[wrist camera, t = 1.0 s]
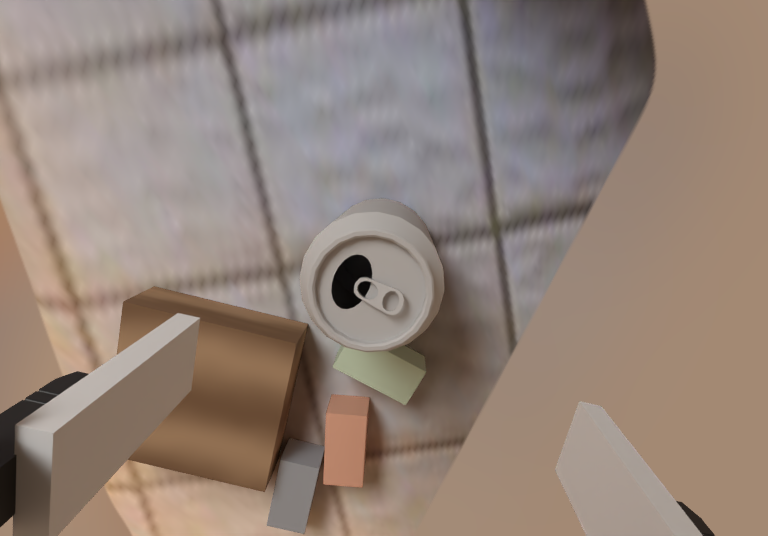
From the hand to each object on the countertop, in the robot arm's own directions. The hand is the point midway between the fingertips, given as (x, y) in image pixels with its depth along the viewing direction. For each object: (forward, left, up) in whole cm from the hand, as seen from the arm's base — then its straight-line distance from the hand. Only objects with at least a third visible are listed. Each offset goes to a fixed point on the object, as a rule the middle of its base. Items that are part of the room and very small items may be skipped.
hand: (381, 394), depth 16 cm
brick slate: (+19, -3, -19) cm, 27 cm away
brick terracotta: (+14, 0, -19) cm, 23 cm away
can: (-1, -1, -19) cm, 19 cm away
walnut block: (+12, -11, -19) cm, 25 cm away
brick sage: (+7, +1, -19) cm, 20 cm away
